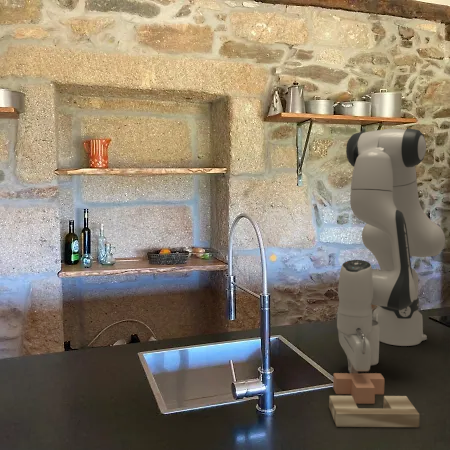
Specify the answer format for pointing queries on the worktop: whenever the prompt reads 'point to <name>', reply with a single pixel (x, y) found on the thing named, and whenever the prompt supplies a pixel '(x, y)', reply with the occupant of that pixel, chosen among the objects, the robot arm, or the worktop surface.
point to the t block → (359, 386)
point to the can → (374, 343)
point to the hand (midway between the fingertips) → (352, 373)
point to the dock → (374, 413)
